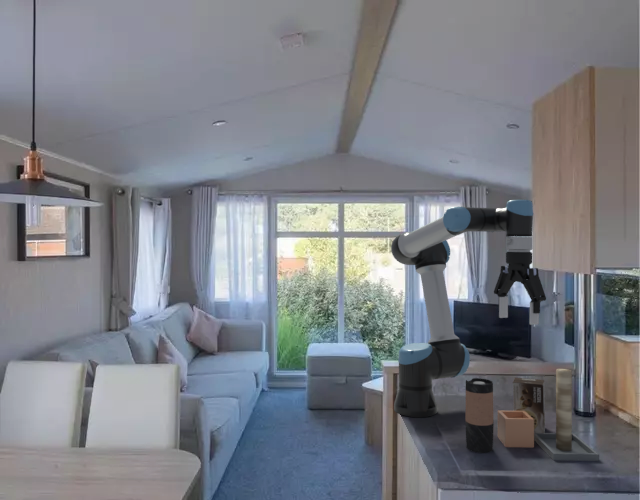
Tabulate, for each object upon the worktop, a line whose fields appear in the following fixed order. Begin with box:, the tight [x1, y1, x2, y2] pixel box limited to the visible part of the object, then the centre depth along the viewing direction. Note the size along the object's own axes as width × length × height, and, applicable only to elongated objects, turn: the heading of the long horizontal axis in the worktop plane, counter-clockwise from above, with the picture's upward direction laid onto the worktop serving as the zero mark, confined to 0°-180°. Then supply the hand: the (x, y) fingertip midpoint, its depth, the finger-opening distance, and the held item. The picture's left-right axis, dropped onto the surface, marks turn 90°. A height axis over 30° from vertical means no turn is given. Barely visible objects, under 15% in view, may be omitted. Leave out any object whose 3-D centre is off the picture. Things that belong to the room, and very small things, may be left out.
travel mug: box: [464, 377, 494, 454], centre depth 151 cm, size 8×8×20 cm
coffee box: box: [512, 377, 546, 433], centre depth 167 cm, size 9×6×16 cm
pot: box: [497, 409, 535, 448], centre depth 156 cm, size 8×8×9 cm
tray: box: [534, 432, 600, 462], centre depth 150 cm, size 16×12×3 cm
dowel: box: [555, 368, 573, 451], centre depth 150 cm, size 4×4×22 cm
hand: (518, 320), depth 162 cm, fingers open, 13 cm apart
